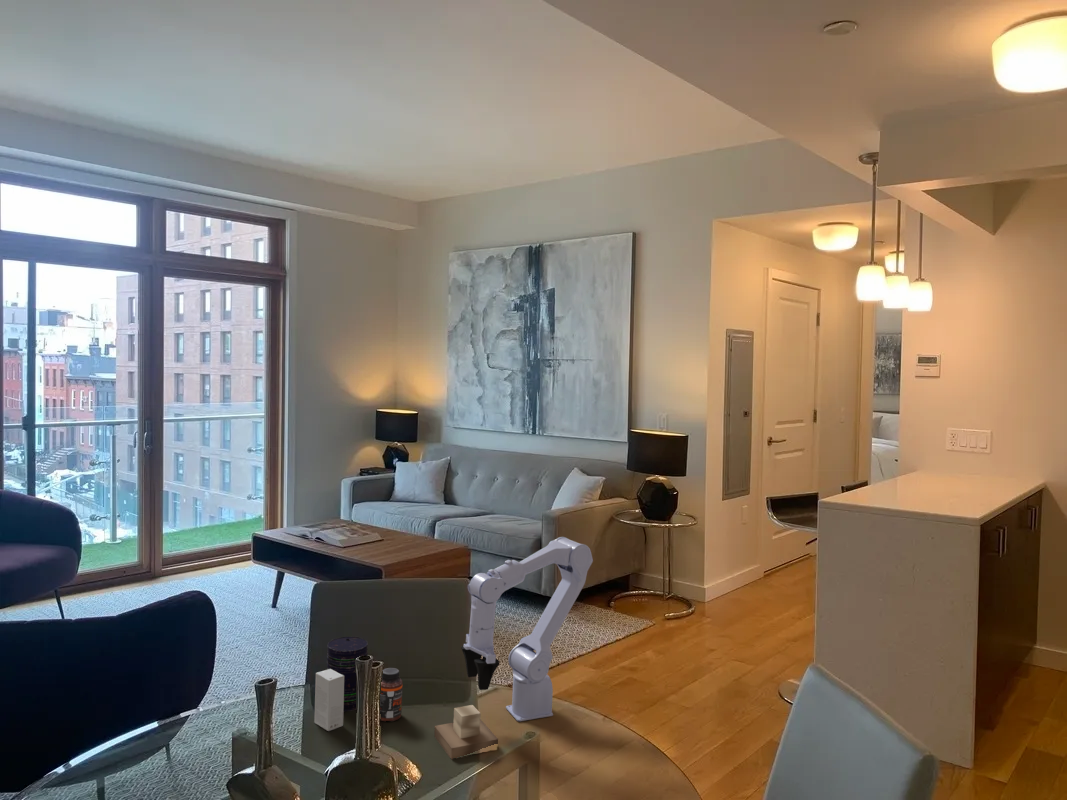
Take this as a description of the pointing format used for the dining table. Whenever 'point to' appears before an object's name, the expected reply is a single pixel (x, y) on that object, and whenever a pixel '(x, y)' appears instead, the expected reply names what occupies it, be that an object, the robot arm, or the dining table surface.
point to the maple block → (466, 721)
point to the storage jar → (346, 664)
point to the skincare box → (329, 699)
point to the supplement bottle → (391, 695)
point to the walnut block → (463, 740)
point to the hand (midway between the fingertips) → (477, 682)
